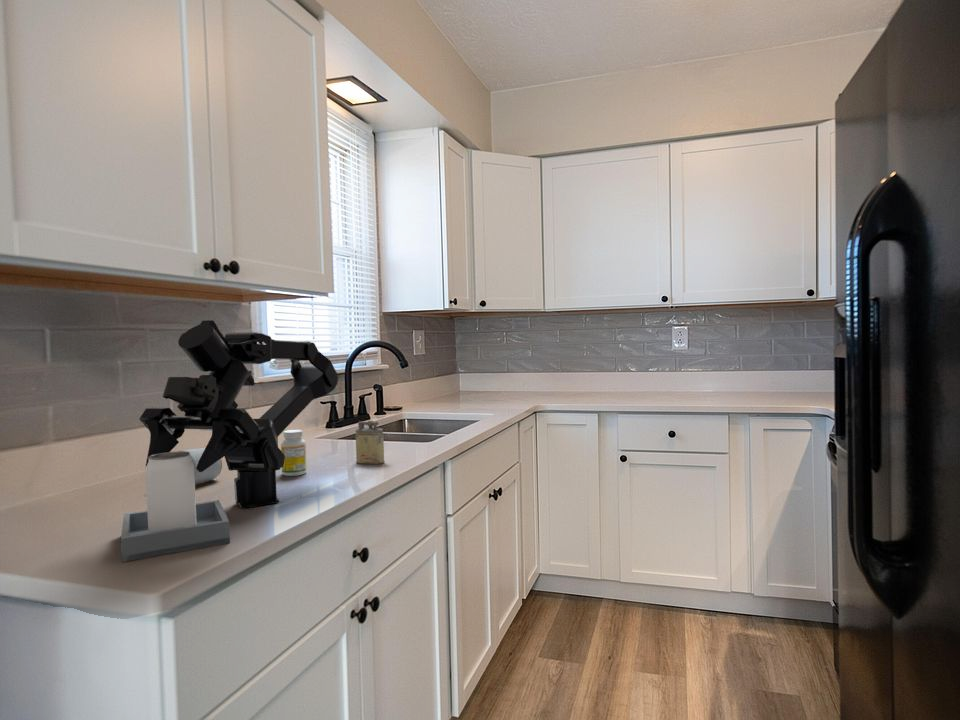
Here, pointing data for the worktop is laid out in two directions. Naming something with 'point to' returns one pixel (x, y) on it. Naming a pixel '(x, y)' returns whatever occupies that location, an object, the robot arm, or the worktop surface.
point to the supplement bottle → (294, 453)
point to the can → (170, 491)
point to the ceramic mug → (209, 472)
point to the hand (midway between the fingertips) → (173, 469)
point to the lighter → (369, 443)
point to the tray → (174, 533)
